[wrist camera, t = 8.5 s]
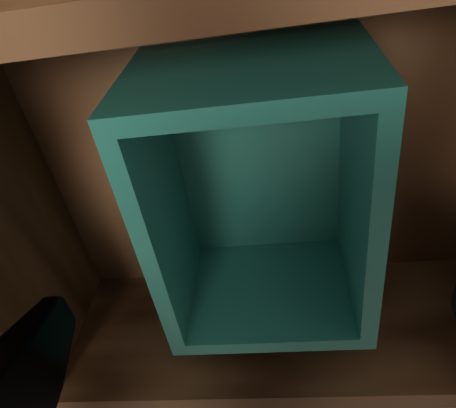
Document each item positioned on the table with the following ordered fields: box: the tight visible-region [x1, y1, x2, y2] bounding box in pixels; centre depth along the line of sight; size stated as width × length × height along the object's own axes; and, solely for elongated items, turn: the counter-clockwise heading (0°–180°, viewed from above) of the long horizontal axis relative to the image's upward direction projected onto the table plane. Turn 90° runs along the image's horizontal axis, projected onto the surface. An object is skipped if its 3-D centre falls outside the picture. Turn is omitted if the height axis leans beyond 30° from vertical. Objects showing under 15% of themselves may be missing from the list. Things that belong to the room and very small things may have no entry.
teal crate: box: [87, 19, 408, 356], centre depth 13 cm, size 6×8×5 cm
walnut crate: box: [0, 0, 456, 408], centre depth 13 cm, size 17×13×6 cm
